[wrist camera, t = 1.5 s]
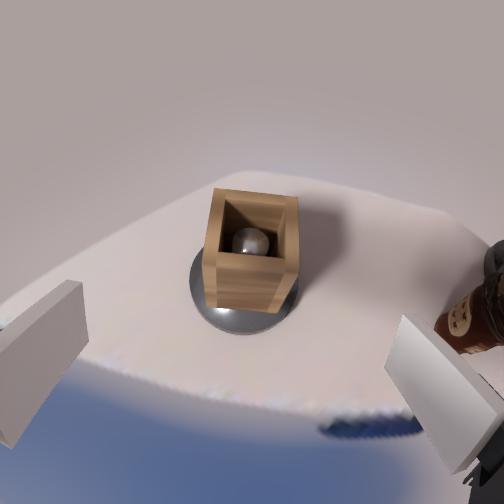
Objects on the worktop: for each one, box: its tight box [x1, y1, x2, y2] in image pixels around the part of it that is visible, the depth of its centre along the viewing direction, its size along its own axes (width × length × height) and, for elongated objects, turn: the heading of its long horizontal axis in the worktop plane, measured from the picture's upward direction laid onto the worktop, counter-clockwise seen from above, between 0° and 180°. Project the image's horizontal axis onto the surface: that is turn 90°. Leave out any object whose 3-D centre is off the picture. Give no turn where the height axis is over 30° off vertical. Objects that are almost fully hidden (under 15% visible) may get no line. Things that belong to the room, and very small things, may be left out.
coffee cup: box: [434, 272, 504, 355], centre depth 28 cm, size 9×8×13 cm
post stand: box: [189, 228, 298, 335], centre depth 31 cm, size 12×12×9 cm
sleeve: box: [202, 188, 299, 313], centre depth 29 cm, size 7×7×10 cm
